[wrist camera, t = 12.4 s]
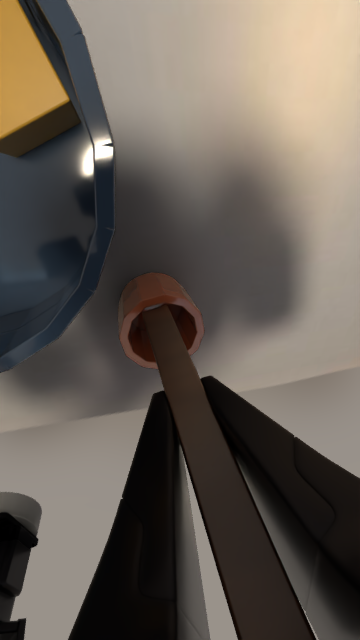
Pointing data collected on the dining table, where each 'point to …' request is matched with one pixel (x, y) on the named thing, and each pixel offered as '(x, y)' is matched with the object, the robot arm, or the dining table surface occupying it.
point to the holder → (150, 295)
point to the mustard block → (28, 87)
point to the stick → (225, 500)
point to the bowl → (55, 202)
